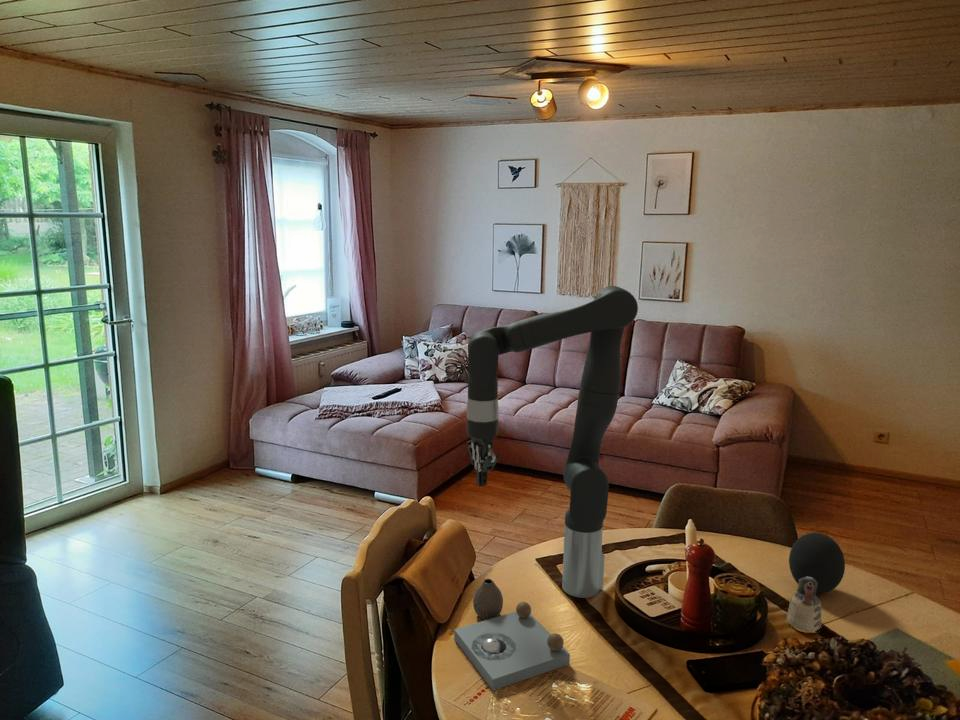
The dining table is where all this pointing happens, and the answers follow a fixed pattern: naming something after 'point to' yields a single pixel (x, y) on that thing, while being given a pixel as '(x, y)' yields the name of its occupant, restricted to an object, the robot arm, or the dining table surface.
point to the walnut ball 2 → (555, 642)
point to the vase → (488, 600)
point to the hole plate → (510, 649)
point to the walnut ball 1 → (523, 609)
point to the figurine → (805, 606)
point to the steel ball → (491, 646)
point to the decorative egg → (817, 561)
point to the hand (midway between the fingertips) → (481, 484)
